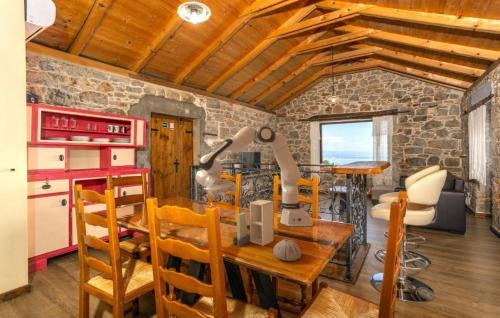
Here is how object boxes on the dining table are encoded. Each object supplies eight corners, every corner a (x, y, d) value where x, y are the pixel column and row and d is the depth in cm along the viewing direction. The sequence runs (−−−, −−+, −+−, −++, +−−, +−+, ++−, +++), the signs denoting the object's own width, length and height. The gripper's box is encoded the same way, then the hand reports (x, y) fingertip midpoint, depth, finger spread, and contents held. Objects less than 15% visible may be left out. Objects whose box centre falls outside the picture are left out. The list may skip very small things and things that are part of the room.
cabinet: (232, 244, 136) (232, 203, 135) (255, 235, 150) (254, 198, 149) (252, 250, 127) (251, 207, 126) (274, 240, 141) (273, 201, 141)
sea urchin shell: (284, 249, 129) (283, 233, 129) (307, 256, 120) (307, 240, 119) (267, 257, 119) (267, 240, 119) (291, 266, 110) (291, 248, 110)
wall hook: (223, 218, 185) (219, 205, 185) (210, 221, 187) (206, 208, 188) (226, 215, 193) (223, 203, 193) (213, 218, 195) (210, 205, 195)
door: (236, 243, 138) (235, 214, 137) (244, 240, 142) (243, 211, 142) (240, 244, 136) (239, 215, 135) (247, 241, 141) (247, 212, 140)
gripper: (202, 183, 150) (218, 192, 142) (227, 177, 165) (242, 185, 157) (201, 192, 152) (217, 202, 144) (225, 186, 167) (241, 194, 159)
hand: (230, 193), depth 151 cm, fingers open, 8 cm apart
